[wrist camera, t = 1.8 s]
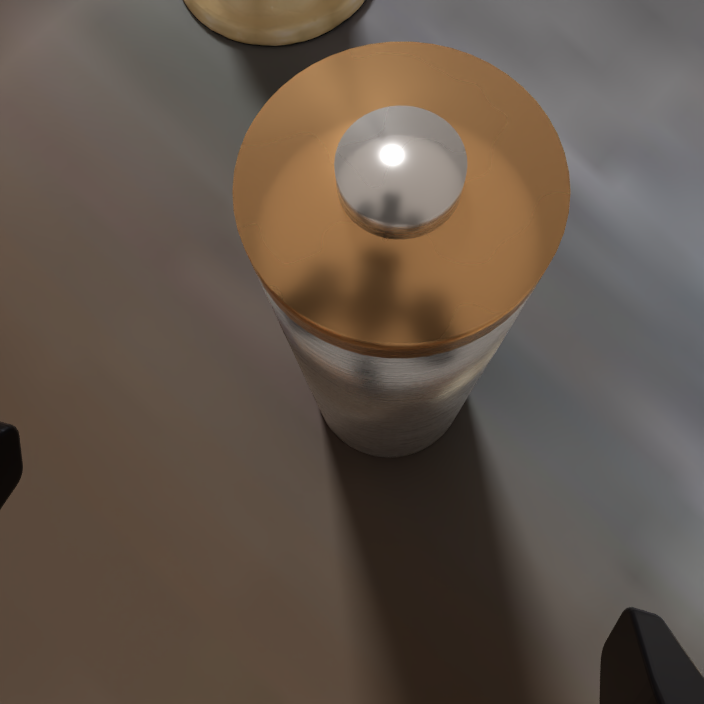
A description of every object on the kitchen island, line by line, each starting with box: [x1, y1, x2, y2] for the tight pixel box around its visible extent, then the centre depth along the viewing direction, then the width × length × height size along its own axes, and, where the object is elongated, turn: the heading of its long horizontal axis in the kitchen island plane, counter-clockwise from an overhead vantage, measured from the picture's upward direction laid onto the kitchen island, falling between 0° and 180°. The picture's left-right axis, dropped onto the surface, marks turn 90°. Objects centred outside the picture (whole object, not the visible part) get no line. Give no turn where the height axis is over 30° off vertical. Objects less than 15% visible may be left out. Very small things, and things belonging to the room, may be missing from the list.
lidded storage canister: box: [233, 42, 570, 457], centre depth 15 cm, size 5×5×13 cm
